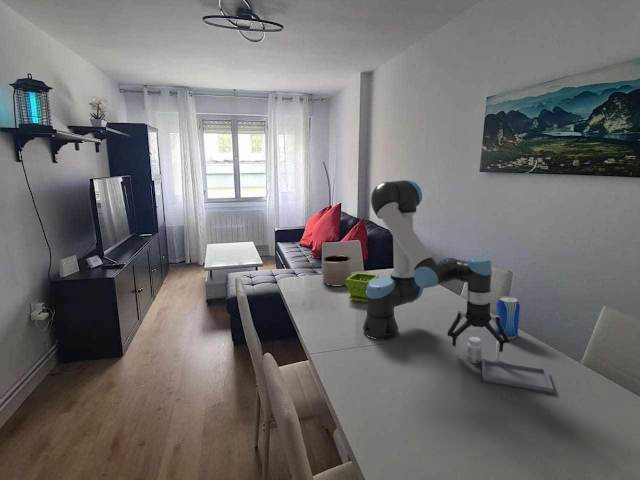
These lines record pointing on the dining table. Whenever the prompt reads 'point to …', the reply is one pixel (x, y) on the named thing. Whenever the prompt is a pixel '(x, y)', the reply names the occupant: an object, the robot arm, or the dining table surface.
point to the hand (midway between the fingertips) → (476, 356)
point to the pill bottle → (474, 350)
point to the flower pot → (359, 286)
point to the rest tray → (516, 376)
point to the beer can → (508, 316)
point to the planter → (336, 269)
